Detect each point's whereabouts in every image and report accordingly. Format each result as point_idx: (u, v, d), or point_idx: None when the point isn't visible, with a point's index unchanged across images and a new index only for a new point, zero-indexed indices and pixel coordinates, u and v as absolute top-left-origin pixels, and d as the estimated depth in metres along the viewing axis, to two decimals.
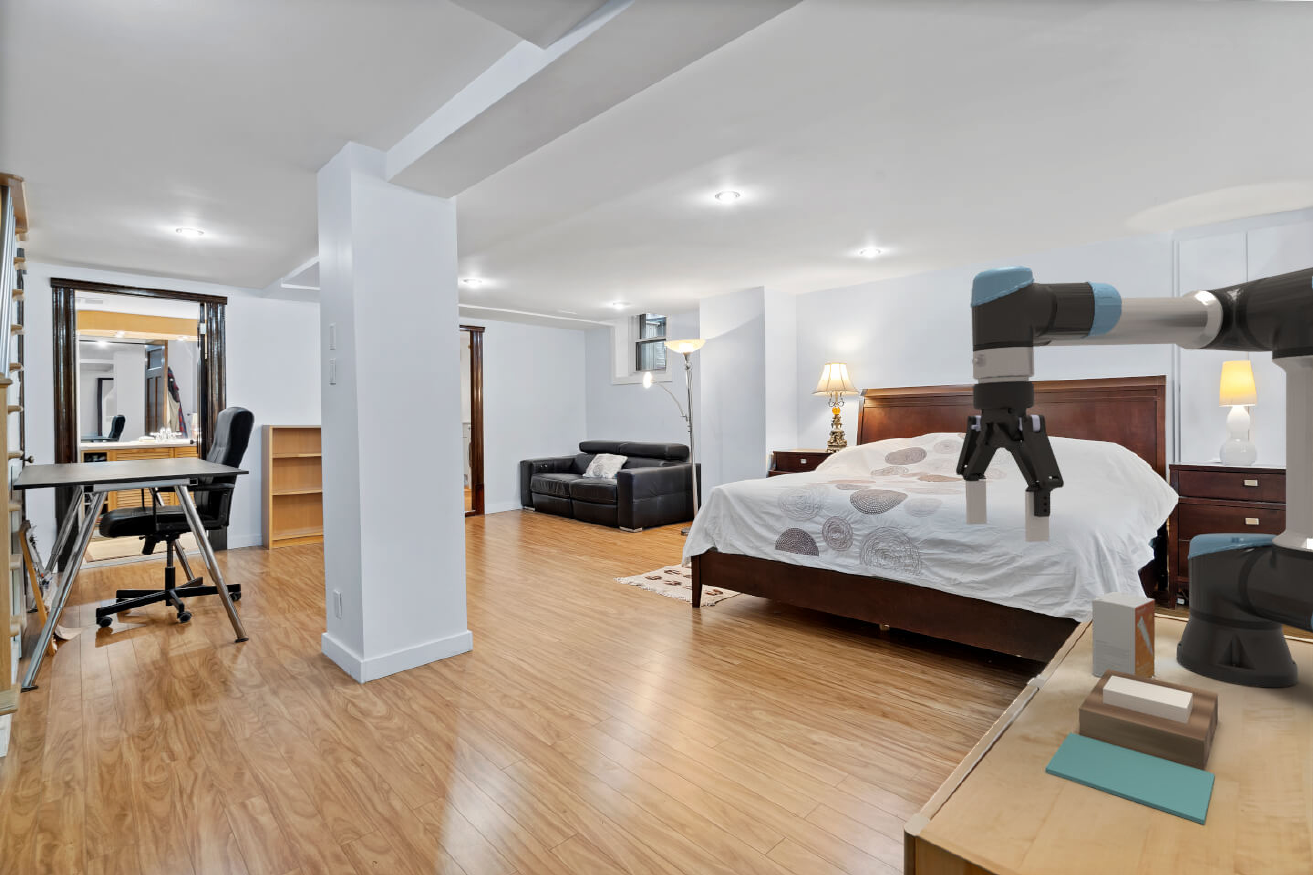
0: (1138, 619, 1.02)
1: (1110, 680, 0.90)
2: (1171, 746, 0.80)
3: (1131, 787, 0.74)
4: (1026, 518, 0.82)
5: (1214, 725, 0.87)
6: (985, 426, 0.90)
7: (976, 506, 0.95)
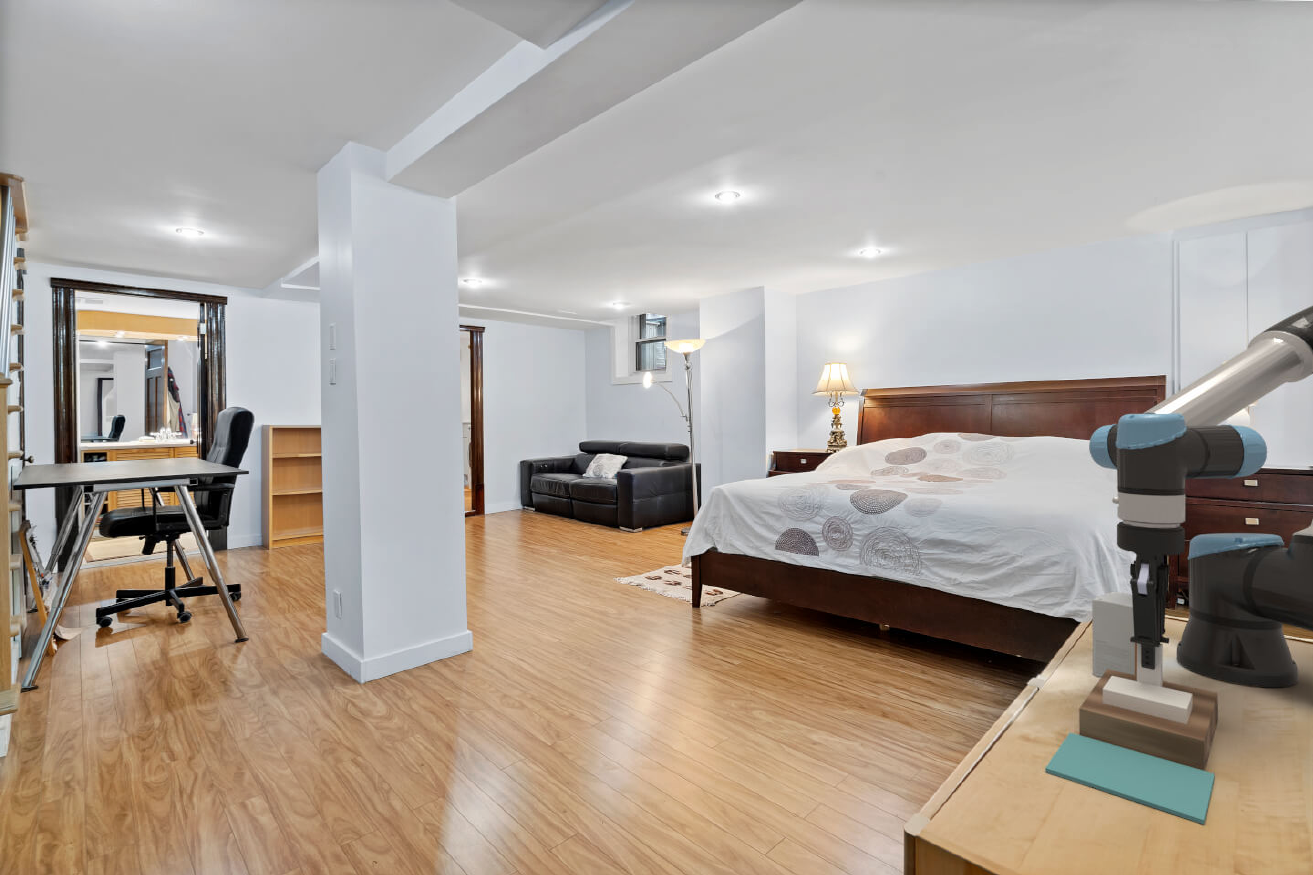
0: None
1: (1110, 680, 0.90)
2: (1171, 746, 0.80)
3: (1131, 787, 0.74)
4: None
5: (1214, 725, 0.87)
6: (1134, 563, 0.91)
7: (1147, 669, 0.90)
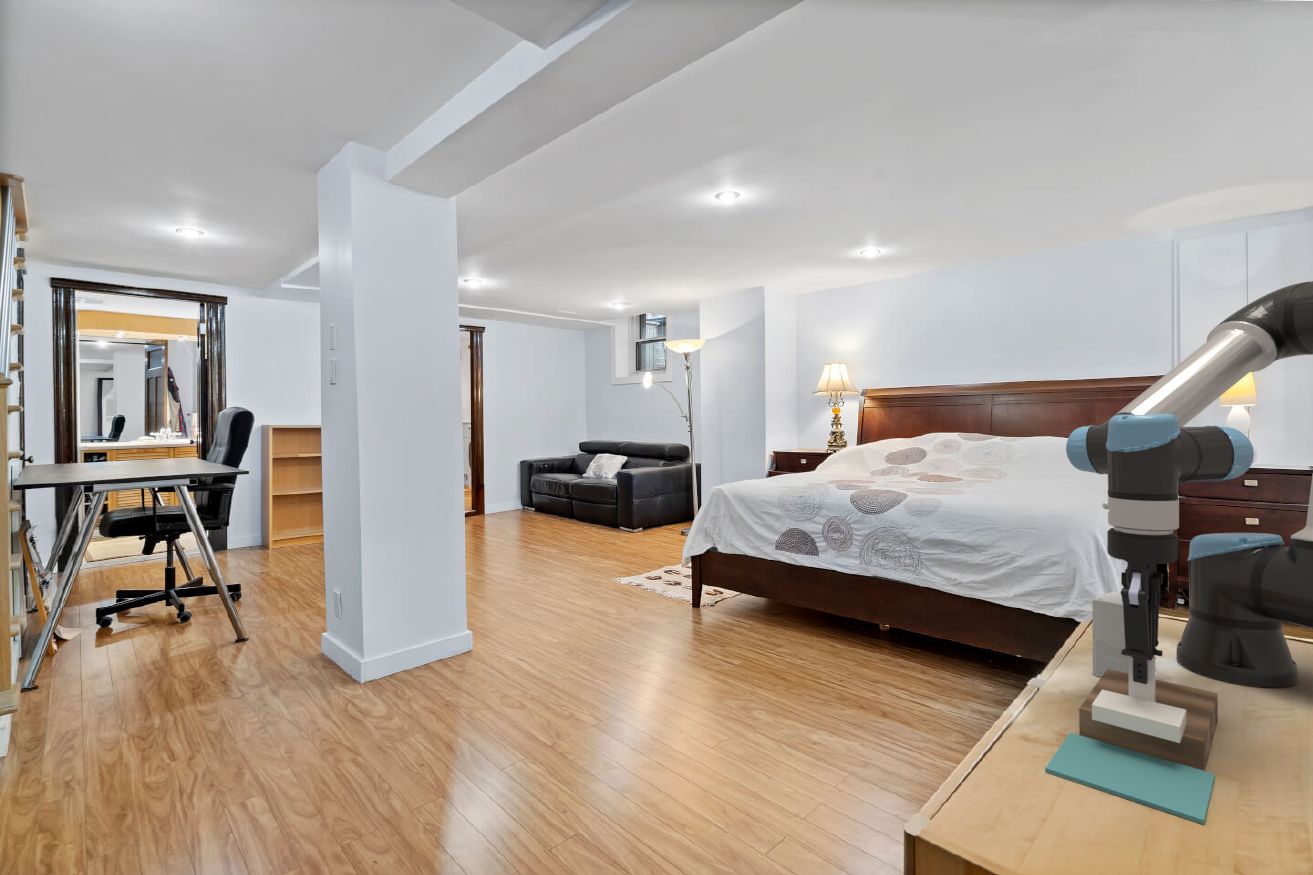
0: None
1: (1100, 695, 0.86)
2: (1171, 746, 0.80)
3: (1131, 787, 0.74)
4: None
5: (1214, 725, 0.87)
6: None
7: None
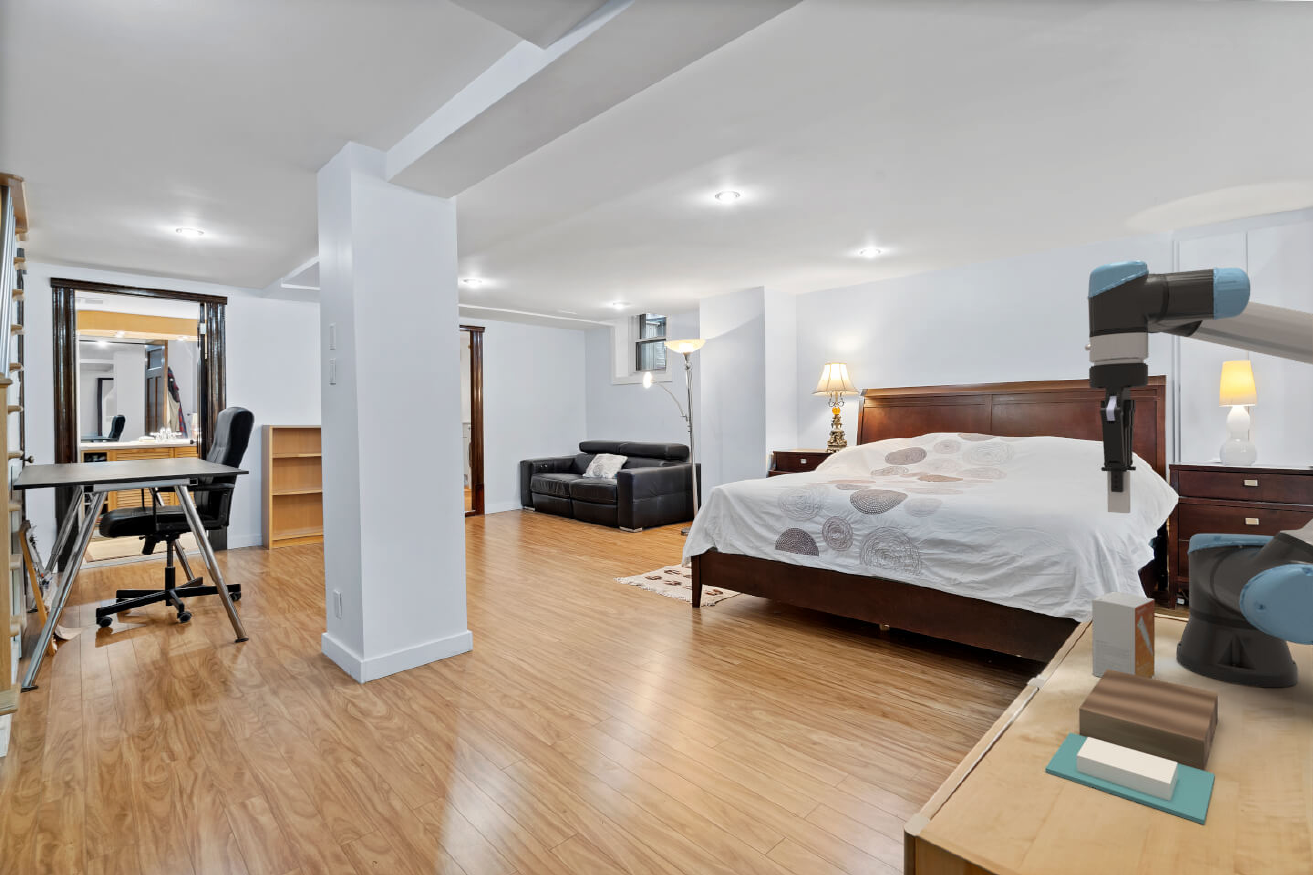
0: (1138, 619, 1.02)
1: None
2: (1171, 746, 0.80)
3: None
4: None
5: (1214, 725, 0.87)
6: None
7: None
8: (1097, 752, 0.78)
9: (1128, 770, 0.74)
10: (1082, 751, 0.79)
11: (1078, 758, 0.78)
